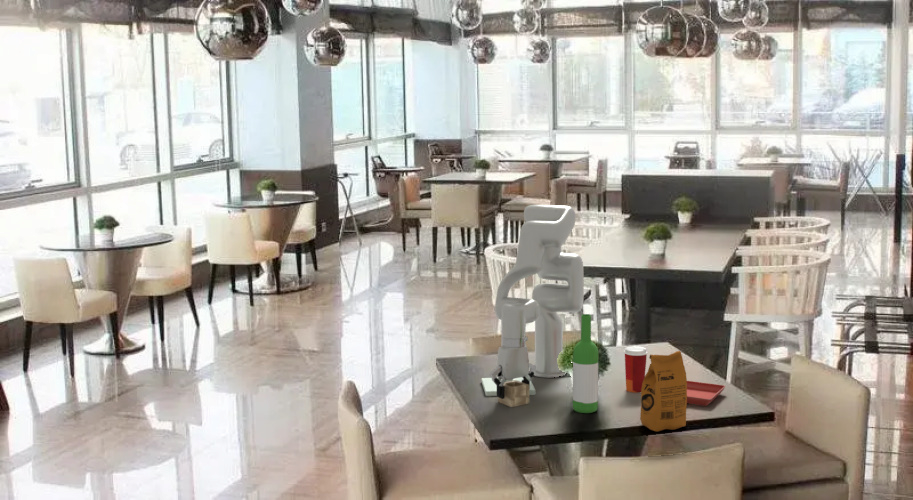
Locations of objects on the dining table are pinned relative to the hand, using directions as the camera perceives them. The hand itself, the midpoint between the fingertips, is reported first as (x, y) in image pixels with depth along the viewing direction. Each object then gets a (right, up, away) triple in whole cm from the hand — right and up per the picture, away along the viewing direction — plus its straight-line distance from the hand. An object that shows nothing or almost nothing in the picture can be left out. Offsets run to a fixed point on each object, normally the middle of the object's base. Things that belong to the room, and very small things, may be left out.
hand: (513, 395), depth 353 cm
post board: (-1, 0, +17) cm, 17 cm away
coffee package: (+43, -6, -23) cm, 49 cm away
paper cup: (+40, 0, +13) cm, 43 cm away
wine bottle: (+22, -4, -8) cm, 23 cm away
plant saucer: (+57, -2, +5) cm, 57 cm away
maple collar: (0, -2, +1) cm, 3 cm away
